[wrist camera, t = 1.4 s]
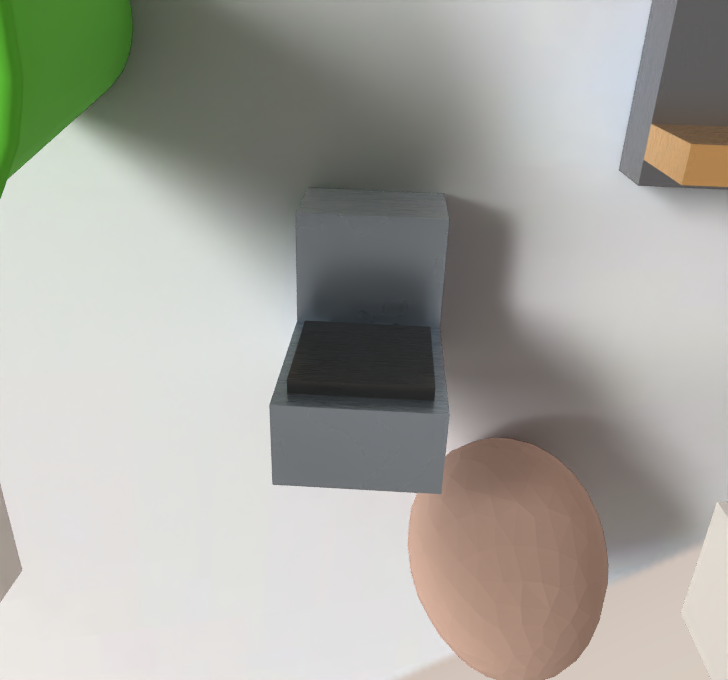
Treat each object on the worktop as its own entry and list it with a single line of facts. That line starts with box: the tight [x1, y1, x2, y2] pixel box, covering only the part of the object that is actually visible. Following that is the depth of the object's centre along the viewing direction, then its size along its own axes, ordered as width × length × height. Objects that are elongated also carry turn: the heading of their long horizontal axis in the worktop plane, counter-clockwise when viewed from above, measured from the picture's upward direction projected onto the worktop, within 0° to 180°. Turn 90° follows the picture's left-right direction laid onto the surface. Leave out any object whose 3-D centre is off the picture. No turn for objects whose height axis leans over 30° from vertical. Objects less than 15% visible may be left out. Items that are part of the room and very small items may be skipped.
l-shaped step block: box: [269, 188, 449, 494], centre depth 20 cm, size 6×4×8 cm
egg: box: [408, 438, 608, 680], centre depth 23 cm, size 7×7×9 cm
